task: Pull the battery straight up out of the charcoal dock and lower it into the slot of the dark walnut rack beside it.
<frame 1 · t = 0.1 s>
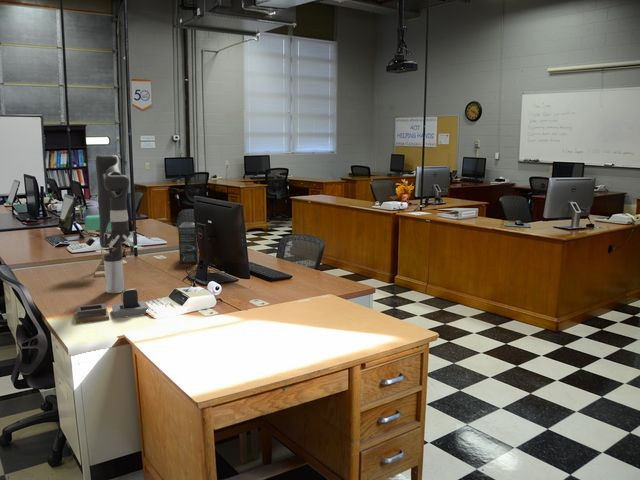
hand: (121, 254, 257), 29 cm above the table, tool pointing down, fingers open, 8 cm apart
computer tower: (190, 260, 378), on the table
banker's lamp: (103, 273, 342), on the table
dock: (130, 312, 267), on the table
battery: (130, 312, 267), resting in dock
rack: (91, 317, 260), on the table
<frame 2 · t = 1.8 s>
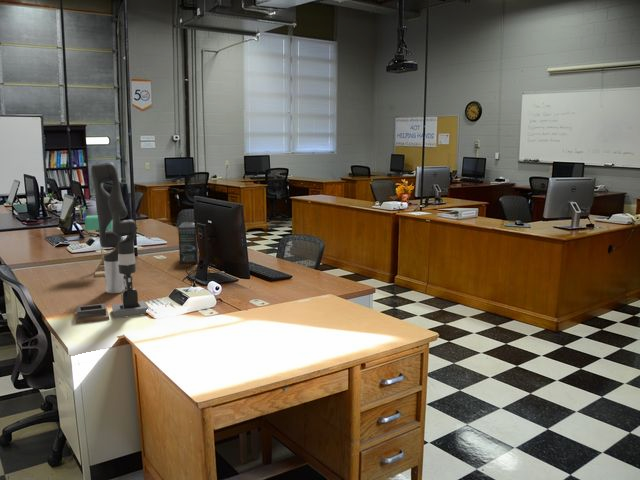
hand: (128, 296, 265), 8 cm above the table, tool pointing down, fingers open, 8 cm apart
nothing on the table moved.
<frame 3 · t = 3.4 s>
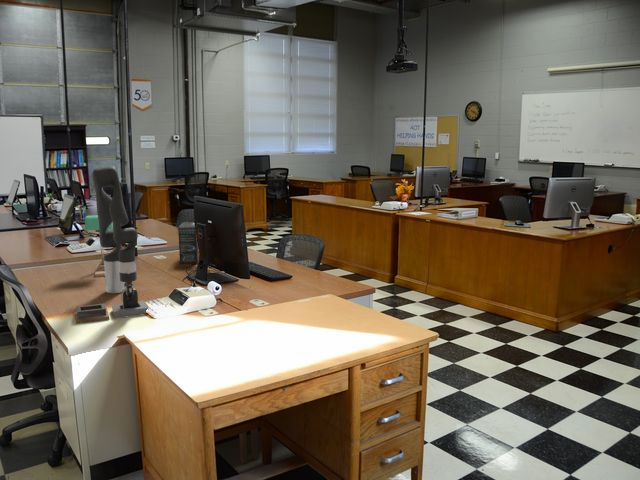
hand: (130, 305, 266), 3 cm above the table, tool pointing down, fingers closed on battery, 4 cm apart
battery: (130, 312, 267), resting in dock, touching gripper
everything else where it was.
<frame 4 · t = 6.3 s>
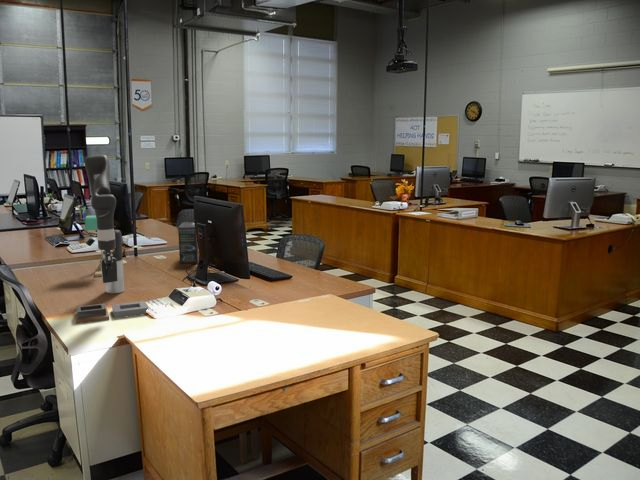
hand: (108, 274, 260), 19 cm above the table, tool pointing down, fingers closed on battery, 4 cm apart
battery: (109, 282, 261), point 16 cm above the table, touching gripper
everything else where it was.
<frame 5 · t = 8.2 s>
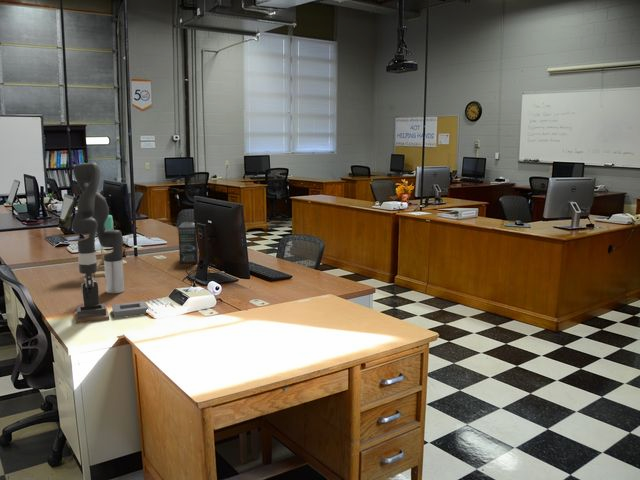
hand: (90, 298, 259), 9 cm above the table, tool pointing down, fingers closed on battery, 4 cm apart
battery: (90, 305, 259), point 5 cm above the table, touching gripper
everything else where it was.
when the fingers open (6 cm above the table, at t = 9.6 s): battery stays where it is, resting on rack.
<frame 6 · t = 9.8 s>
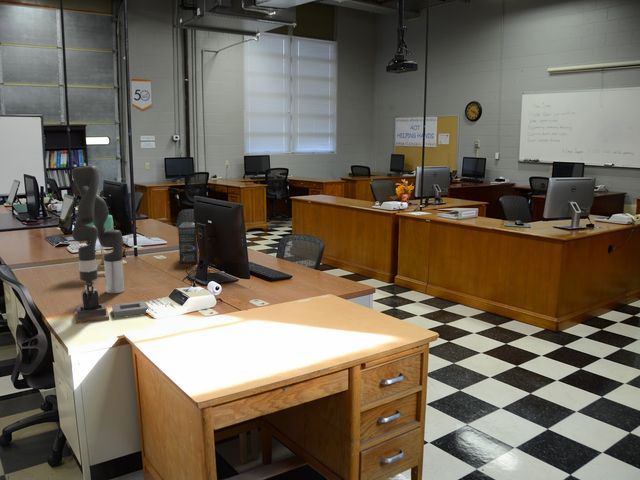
hand: (90, 304, 259), 6 cm above the table, tool pointing down, fingers open, 5 cm apart
battery: (91, 314, 260), point 1 cm above the table, touching rack
everything else where it was.
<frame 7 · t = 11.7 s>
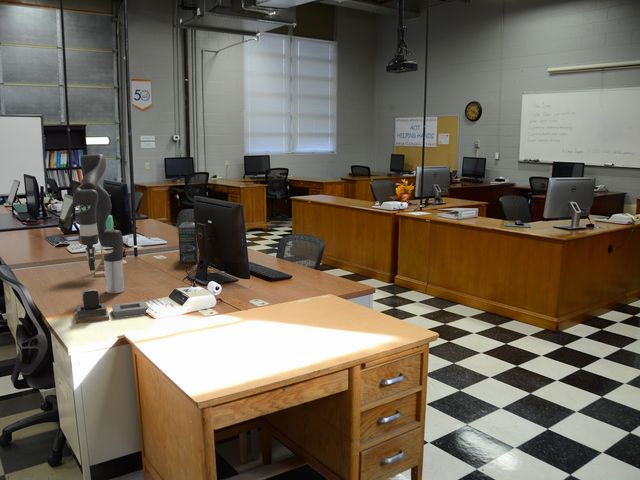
hand: (91, 268, 259), 22 cm above the table, tool pointing down, fingers open, 8 cm apart
nothing on the table moved.
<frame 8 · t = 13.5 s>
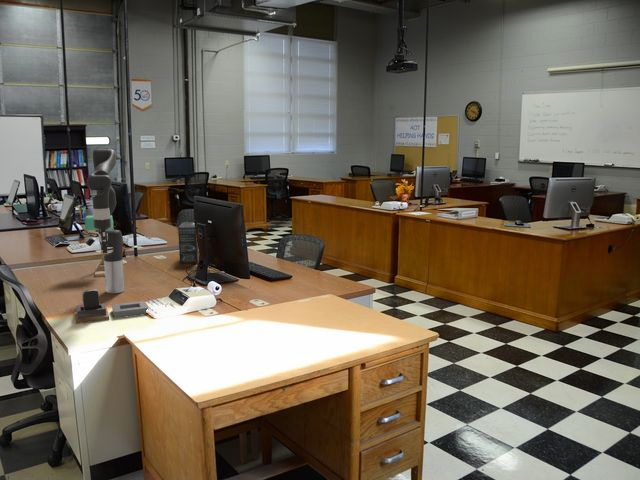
hand: (104, 251, 268), 28 cm above the table, tool pointing down, fingers open, 8 cm apart
nothing on the table moved.
at the end: battery 0.3 cm off-centre on the rack, point 1.3 cm above the rack's base; battery tilted 0°; the gripper is holding nothing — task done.
